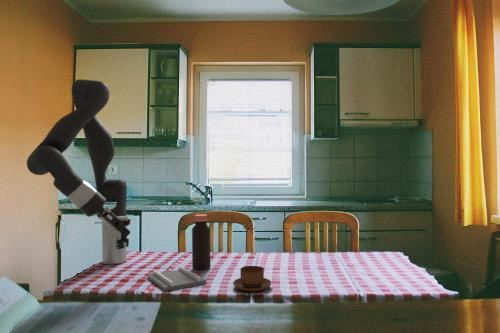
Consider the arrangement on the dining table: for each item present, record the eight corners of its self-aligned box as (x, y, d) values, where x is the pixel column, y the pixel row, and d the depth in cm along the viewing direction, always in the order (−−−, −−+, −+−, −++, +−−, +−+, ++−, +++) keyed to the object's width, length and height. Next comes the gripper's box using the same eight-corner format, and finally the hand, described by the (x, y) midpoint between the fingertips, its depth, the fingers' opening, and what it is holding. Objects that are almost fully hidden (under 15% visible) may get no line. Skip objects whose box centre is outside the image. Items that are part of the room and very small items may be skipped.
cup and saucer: (227, 285, 127) (227, 266, 127) (261, 280, 132) (261, 262, 132) (241, 296, 116) (241, 276, 116) (278, 291, 121) (277, 271, 121)
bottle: (188, 269, 146) (188, 215, 146) (198, 265, 152) (197, 213, 152) (205, 271, 143) (204, 216, 143) (213, 266, 150) (213, 214, 150)
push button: (122, 250, 123) (123, 218, 123) (107, 249, 124) (108, 217, 124) (133, 246, 129) (134, 216, 129) (118, 245, 130) (119, 215, 130)
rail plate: (147, 278, 135) (147, 271, 135) (185, 271, 143) (185, 265, 143) (165, 291, 121) (164, 283, 121) (206, 283, 128) (206, 276, 128)
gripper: (100, 190, 117) (140, 227, 123) (91, 188, 129) (128, 221, 135) (81, 209, 114) (123, 246, 120) (73, 205, 126) (112, 238, 133)
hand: (125, 233), depth 128 cm, fingers closed on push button, 4 cm apart
